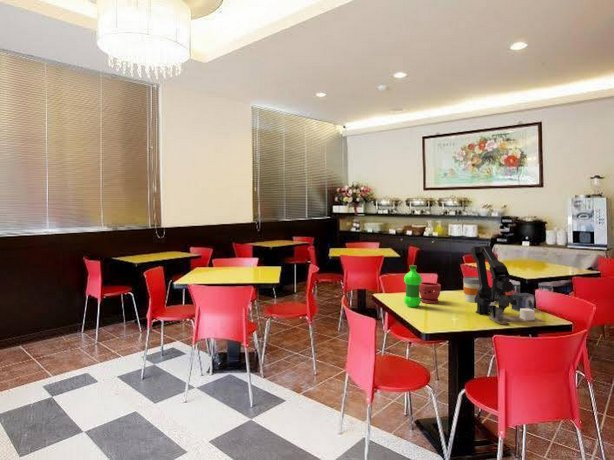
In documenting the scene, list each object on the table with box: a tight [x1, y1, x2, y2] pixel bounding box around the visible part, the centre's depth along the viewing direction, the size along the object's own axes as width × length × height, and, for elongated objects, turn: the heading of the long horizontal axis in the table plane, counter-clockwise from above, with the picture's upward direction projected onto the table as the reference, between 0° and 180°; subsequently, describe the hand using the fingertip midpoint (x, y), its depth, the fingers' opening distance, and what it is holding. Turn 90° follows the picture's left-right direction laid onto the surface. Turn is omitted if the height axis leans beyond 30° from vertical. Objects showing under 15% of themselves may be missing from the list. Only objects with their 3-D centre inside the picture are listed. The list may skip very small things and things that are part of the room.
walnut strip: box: [487, 306, 545, 325], centre depth 216 cm, size 24×12×7 cm, turn 94°
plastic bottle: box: [403, 264, 423, 308], centre depth 247 cm, size 10×10×25 cm
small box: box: [511, 292, 535, 313], centre depth 236 cm, size 11×6×10 cm, turn 105°
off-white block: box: [519, 308, 536, 320], centre depth 216 cm, size 5×5×5 cm
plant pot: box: [419, 281, 442, 304], centre depth 259 cm, size 13×13×12 cm
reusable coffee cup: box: [462, 276, 479, 304], centre depth 262 cm, size 13×13×15 cm
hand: (497, 317), depth 215 cm, fingers closed on walnut strip, 3 cm apart
